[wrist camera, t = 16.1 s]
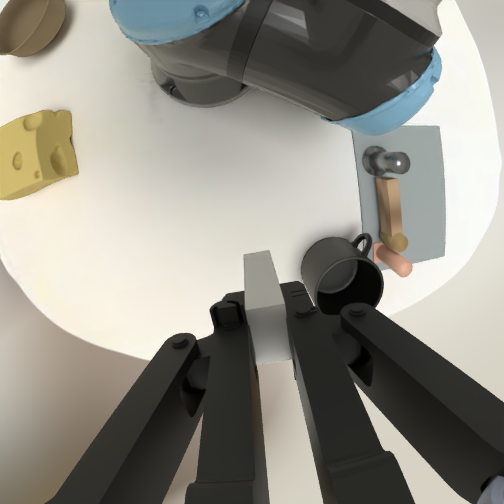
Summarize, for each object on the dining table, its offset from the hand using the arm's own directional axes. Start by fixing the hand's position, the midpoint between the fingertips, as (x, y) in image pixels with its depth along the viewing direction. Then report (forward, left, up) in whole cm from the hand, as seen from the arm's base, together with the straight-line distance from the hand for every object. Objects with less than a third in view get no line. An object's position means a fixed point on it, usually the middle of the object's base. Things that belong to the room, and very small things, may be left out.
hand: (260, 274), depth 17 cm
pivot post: (-4, +19, -24) cm, 31 cm away
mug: (+10, +11, -25) cm, 29 cm away
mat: (+2, +24, -24) cm, 34 cm away
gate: (+3, +19, -23) cm, 30 cm away
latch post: (+10, +19, -24) cm, 32 cm away
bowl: (-38, -28, -25) cm, 53 cm away
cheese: (-15, -29, -25) cm, 41 cm away
